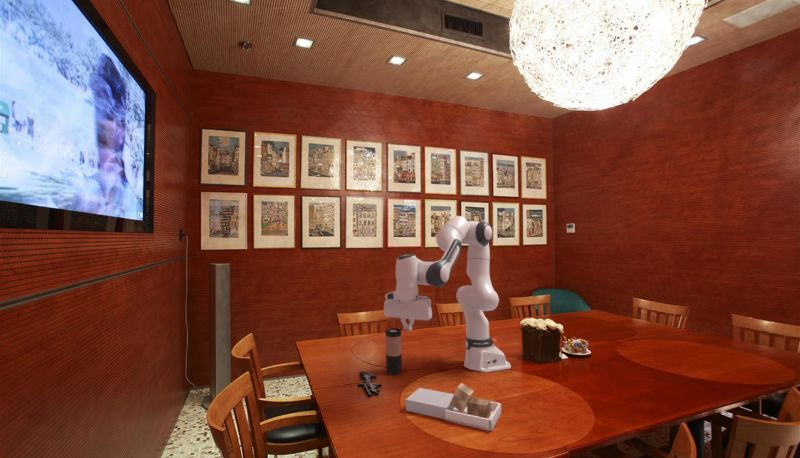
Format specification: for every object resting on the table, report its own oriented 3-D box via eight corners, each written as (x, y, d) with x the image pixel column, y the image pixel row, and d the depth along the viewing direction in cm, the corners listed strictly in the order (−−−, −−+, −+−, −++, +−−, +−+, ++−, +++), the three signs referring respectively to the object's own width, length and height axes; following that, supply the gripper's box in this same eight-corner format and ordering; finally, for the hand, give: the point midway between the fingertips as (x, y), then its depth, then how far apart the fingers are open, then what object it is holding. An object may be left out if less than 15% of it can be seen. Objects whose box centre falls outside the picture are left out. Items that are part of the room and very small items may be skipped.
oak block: (449, 403, 133) (457, 387, 131) (454, 398, 136) (461, 382, 135) (461, 412, 130) (469, 395, 129) (466, 407, 134) (473, 391, 133)
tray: (445, 420, 128) (445, 410, 128) (459, 404, 141) (458, 395, 141) (491, 431, 121) (491, 420, 121) (501, 413, 133) (501, 403, 133)
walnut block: (467, 401, 130) (486, 405, 126) (471, 396, 134) (490, 400, 130) (467, 416, 130) (487, 420, 126) (471, 410, 134) (490, 415, 130)
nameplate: (351, 372, 174) (372, 370, 177) (351, 375, 174) (372, 373, 177) (363, 395, 148) (387, 392, 151) (363, 399, 148) (387, 396, 151)
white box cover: (405, 410, 137) (405, 399, 137) (419, 397, 147) (419, 387, 147) (446, 419, 129) (446, 408, 129) (458, 405, 140) (457, 395, 140)
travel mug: (400, 375, 172) (399, 332, 173) (384, 374, 173) (383, 331, 174) (403, 369, 179) (402, 328, 180) (388, 369, 181) (387, 327, 182)
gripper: (434, 295, 146) (434, 330, 146) (389, 292, 156) (389, 325, 155) (427, 297, 141) (428, 334, 140) (381, 294, 150) (382, 328, 150)
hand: (407, 329), depth 148 cm, fingers closed
